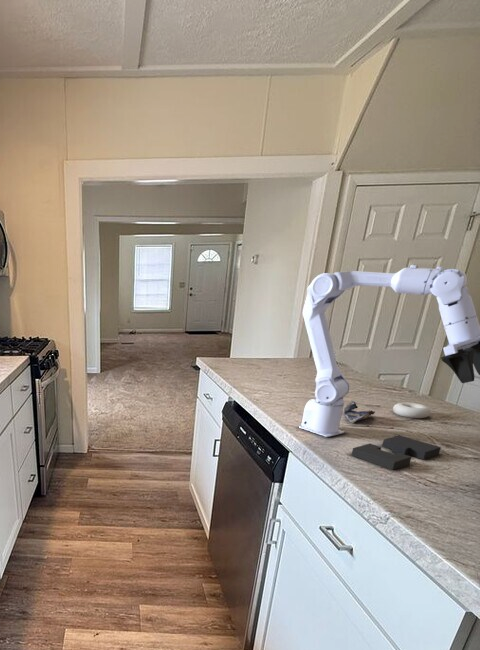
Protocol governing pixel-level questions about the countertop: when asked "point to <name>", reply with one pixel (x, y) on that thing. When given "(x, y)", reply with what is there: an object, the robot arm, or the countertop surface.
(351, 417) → the snack package
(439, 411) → the countertop surface
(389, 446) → the tab pad
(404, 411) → the donut
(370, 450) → the base pad
